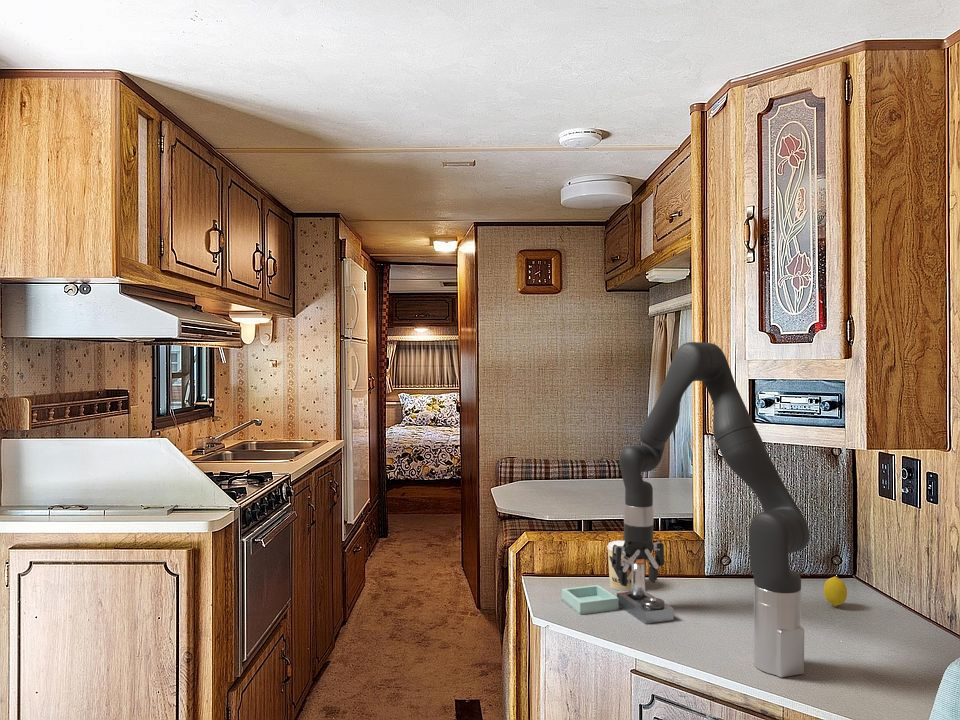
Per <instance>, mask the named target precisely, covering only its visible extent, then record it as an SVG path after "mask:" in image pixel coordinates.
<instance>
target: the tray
mask: <svg viewBox="0 0 960 720" xmlns="http://www.w3.org/2000/svg"><path fill="white" fill-rule="evenodd" d="M561 601H562V602H563V603H565V604H566V606H569V607H570V608H571V609H572V610H573V611H575V612H576V613H577V614H578V615H589V614H596V613H603V612H604V613H605V612H612V611H619V606H618V602H619V598H617V595H614V594H613V593H611V592H610V591H608V590H607V589H605V588H604V587H602V586H600V584H594V585H584V586H578V587H567V588H562V589H561Z"/></svg>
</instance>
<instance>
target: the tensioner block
mask: <svg viewBox="0 0 960 720" xmlns="http://www.w3.org/2000/svg"><path fill="white" fill-rule="evenodd" d="M616 597H617V598H619V602H618V607H619V608H621V609H623V610H624V611H625V612H627V613H628V614H630V615H631V616H632V617H635V618H636V619H637V620H639V621H640V622H641V623H643V624H644V625H649V624H656V623H663V622H672V621H674V613H675V612H674V609H675V608H674V607H672V606H671V605H669V604H667V603H666V602H665V600H664V599H661V598H659V597H656V596H654V595H652V594H650V593H649V592H647V591H646V590H645V598H643V599H642V600H636V601H635V600H633V599H632V598H631V597H632V591H622V592H616Z"/></svg>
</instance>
